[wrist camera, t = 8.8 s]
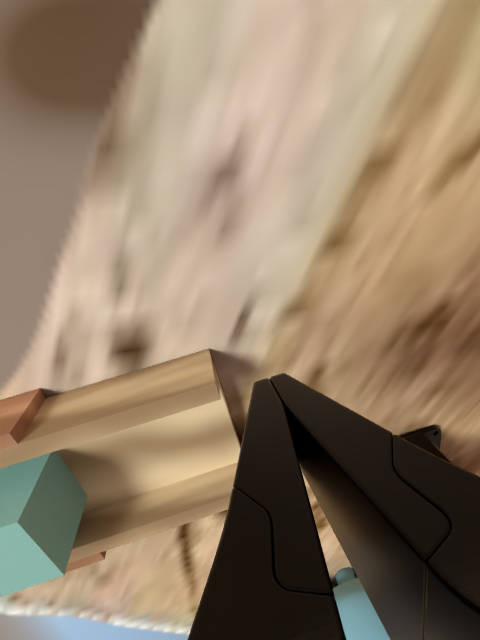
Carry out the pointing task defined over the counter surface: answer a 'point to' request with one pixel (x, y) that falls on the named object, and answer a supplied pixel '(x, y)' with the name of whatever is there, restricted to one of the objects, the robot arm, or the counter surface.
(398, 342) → the counter surface
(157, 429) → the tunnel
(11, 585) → the block
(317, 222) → the counter surface
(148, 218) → the counter surface
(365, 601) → the teapot
